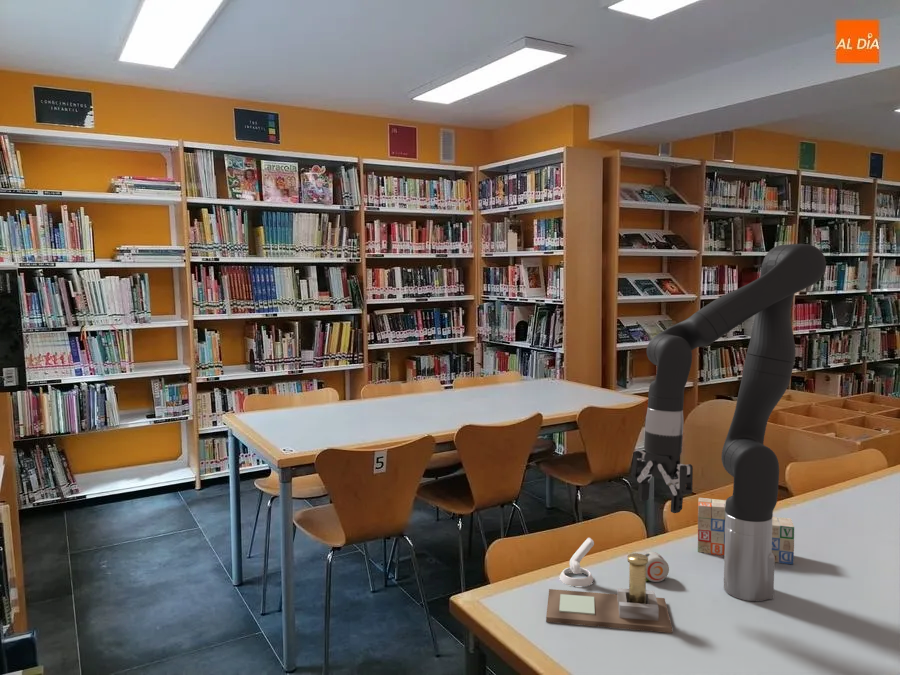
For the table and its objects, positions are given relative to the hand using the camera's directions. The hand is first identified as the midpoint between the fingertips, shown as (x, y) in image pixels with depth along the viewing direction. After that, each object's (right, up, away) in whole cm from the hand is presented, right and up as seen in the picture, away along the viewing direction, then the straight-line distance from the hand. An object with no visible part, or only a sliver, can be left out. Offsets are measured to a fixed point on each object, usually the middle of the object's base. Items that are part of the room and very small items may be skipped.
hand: (659, 505), depth 136 cm
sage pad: (-18, -20, -3) cm, 27 cm away
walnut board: (-12, -21, -4) cm, 24 cm away
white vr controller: (-15, -20, +11) cm, 27 cm away
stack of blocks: (+28, -18, +24) cm, 41 cm away
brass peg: (-6, -20, -5) cm, 21 cm away
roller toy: (+2, -20, +11) cm, 22 cm away
